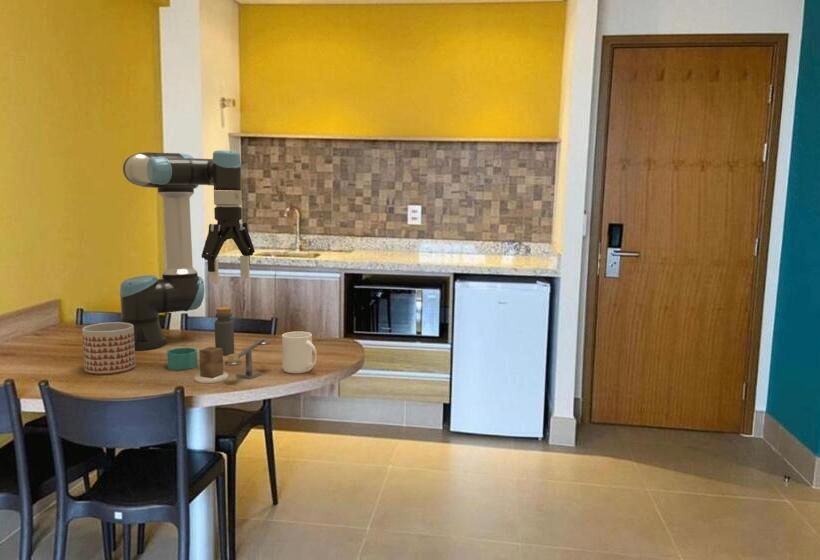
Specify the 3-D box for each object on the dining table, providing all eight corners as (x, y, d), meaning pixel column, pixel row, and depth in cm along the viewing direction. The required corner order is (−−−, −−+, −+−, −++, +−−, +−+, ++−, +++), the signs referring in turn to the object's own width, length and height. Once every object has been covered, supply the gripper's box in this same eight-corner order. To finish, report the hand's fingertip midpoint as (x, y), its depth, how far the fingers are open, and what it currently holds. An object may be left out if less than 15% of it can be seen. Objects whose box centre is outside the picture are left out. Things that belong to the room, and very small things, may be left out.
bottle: (238, 352, 215) (236, 307, 213) (226, 356, 210) (224, 310, 208) (223, 350, 217) (222, 305, 215) (211, 354, 212) (210, 308, 210)
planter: (103, 378, 185) (100, 333, 183) (74, 370, 192) (72, 327, 190) (145, 367, 196) (143, 325, 195) (117, 360, 203) (115, 320, 202)
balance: (221, 382, 181) (220, 349, 180) (261, 367, 197) (260, 336, 196) (235, 385, 179) (234, 351, 178) (275, 369, 195) (274, 338, 194)
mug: (305, 377, 187) (305, 340, 186) (276, 370, 194) (275, 334, 193) (326, 371, 194) (326, 335, 192) (297, 364, 201) (297, 330, 199)
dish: (187, 380, 183) (187, 377, 182) (209, 372, 191) (209, 369, 191) (213, 384, 179) (213, 381, 179) (234, 376, 187) (234, 373, 187)
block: (200, 376, 184) (199, 350, 183) (211, 372, 188) (210, 346, 187) (212, 378, 182) (211, 351, 181) (223, 374, 186) (222, 348, 185)
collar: (161, 367, 196) (160, 352, 195) (181, 361, 203) (181, 346, 203) (183, 371, 192) (182, 355, 192) (203, 364, 200) (202, 349, 199)
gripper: (208, 207, 174) (210, 286, 177) (265, 205, 196) (267, 276, 199) (186, 206, 177) (188, 284, 180) (245, 205, 199) (246, 274, 202)
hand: (230, 280), depth 189 cm, fingers open, 13 cm apart
